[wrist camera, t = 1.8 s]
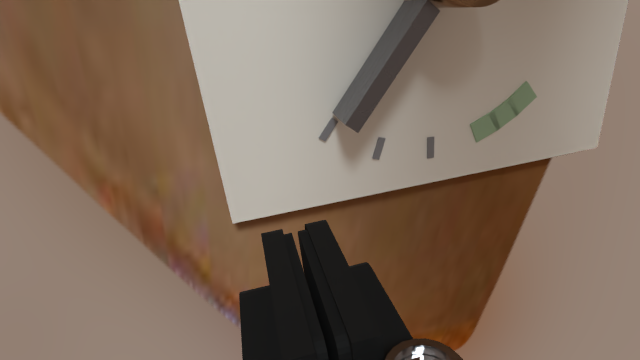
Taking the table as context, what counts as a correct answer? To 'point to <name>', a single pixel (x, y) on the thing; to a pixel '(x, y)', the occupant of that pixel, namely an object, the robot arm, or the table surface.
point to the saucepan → (391, 57)
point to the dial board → (394, 93)
